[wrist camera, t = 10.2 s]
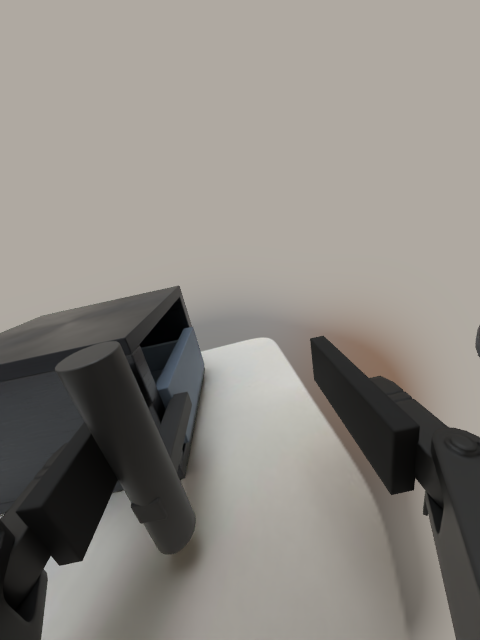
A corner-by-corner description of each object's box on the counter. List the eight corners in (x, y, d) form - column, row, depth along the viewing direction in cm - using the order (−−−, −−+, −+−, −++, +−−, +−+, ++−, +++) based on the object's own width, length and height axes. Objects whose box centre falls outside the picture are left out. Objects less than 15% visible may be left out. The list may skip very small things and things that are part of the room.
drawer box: (205, 369, 29) (179, 285, 25) (185, 478, 16) (124, 337, 12) (84, 393, 29) (42, 315, 26) (-33, 520, 16) (-157, 397, 12)
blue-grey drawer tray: (216, 361, 27) (191, 275, 23) (195, 557, 10) (101, 363, 7) (87, 388, 27) (44, 307, 24) (-126, 615, 11) (-373, 463, 7)
